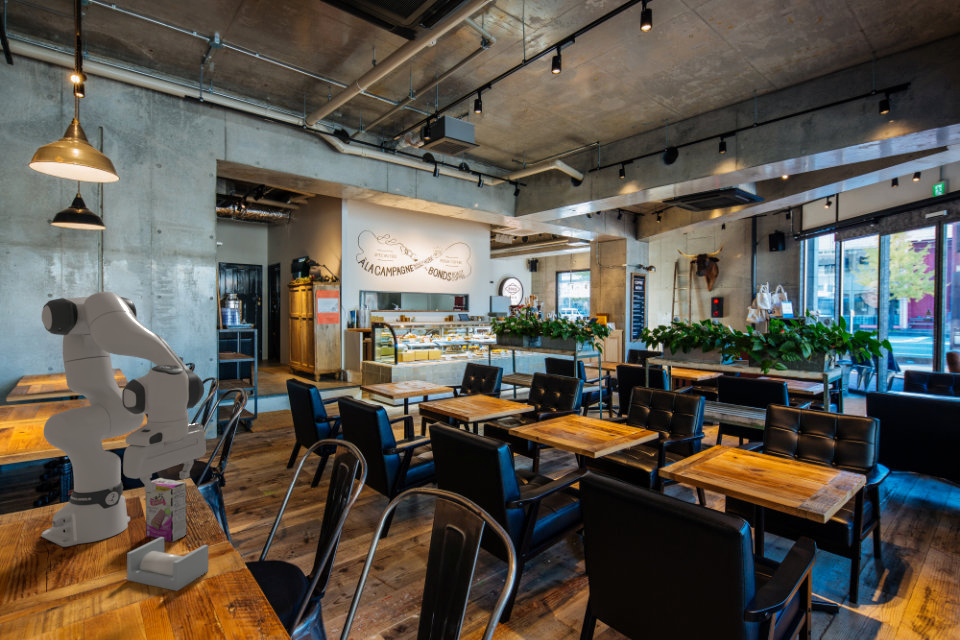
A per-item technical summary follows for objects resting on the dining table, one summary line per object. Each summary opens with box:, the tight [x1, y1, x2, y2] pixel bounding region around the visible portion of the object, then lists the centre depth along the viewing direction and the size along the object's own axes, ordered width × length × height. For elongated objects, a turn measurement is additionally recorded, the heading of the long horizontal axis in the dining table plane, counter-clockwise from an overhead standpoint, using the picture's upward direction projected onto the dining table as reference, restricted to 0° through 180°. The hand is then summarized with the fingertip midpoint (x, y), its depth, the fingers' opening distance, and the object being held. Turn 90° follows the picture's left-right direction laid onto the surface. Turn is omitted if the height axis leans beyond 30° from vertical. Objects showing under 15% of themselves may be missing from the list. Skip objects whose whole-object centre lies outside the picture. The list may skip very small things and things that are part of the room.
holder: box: [126, 537, 209, 592], centre depth 119 cm, size 16×9×7 cm, turn 74°
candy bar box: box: [145, 477, 188, 543], centre depth 140 cm, size 11×5×16 cm, turn 71°
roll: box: [140, 551, 184, 577], centre depth 119 cm, size 10×5×5 cm, turn 74°
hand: (168, 484), depth 119 cm, fingers open, 8 cm apart
